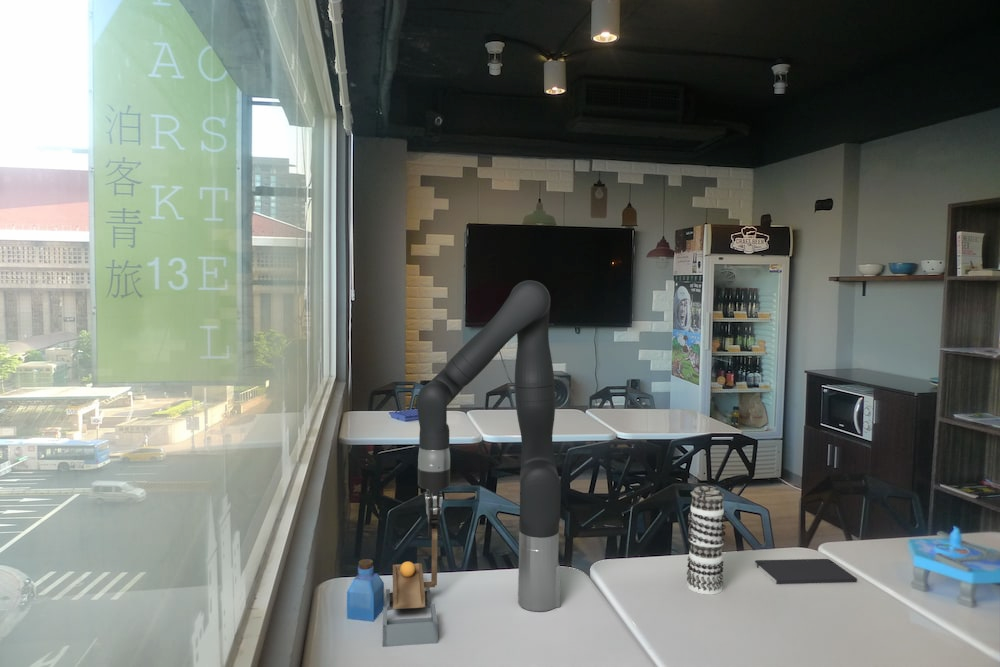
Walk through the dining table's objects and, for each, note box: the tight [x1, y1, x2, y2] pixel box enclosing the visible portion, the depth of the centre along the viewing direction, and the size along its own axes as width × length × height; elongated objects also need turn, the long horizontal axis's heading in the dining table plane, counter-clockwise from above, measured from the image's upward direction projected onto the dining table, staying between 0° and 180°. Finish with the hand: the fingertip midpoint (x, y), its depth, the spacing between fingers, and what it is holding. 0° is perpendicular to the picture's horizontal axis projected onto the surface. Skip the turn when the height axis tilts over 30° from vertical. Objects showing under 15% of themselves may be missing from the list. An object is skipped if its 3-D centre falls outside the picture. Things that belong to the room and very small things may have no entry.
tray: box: [382, 603, 439, 648], centre depth 145 cm, size 11×10×4 cm
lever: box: [392, 529, 438, 610], centre depth 158 cm, size 10×17×14 cm, turn 9°
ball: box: [400, 560, 415, 577], centre depth 164 cm, size 4×4×4 cm
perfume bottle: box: [346, 558, 385, 623], centre depth 154 cm, size 6×6×12 cm
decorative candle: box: [686, 485, 728, 596], centre depth 169 cm, size 9×9×25 cm
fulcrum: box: [385, 588, 431, 611], centre depth 159 cm, size 10×5×3 cm, turn 99°
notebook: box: [754, 558, 858, 585], centre depth 180 cm, size 13×2×21 cm
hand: (433, 538), depth 162 cm, fingers closed
